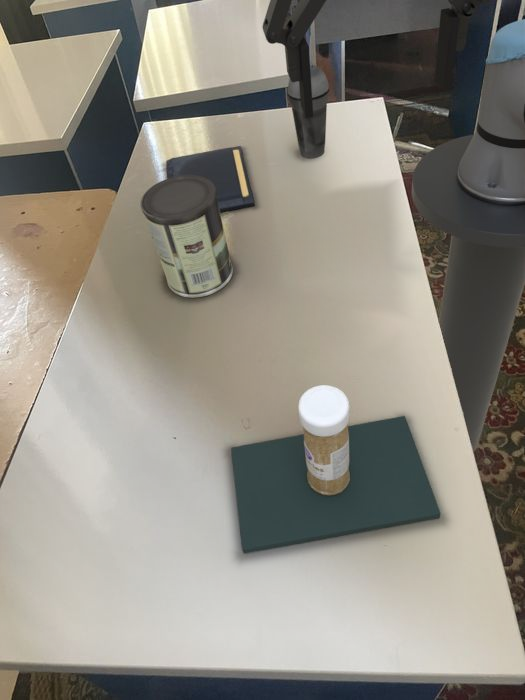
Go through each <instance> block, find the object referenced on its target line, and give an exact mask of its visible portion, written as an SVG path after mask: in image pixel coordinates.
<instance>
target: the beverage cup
mask: <svg viewBox="0 0 525 700" xmlns="http://www.w3.org/2000/svg"><path fill="white" fill-rule="evenodd" d="M313 43H314V35H312V34H311V35H309V45H308V46H309V55H310V71H311V87H312V103H313V117H309V118H306V117H305V115H304V112H303V110H302V107H301V100H300V88H299V81H297V82H292V81H291V80H290V78H289V79H288V84H287V93H286V94H287V96H288V101H289V104H290V106H291V112H292V116H293V117H292V118H293V122H294V128H295V134H296V139H297V145H298V149H299V152H300V157H302V158H303V159H308V160H314V159H318V158H320V157H323V155H324V154H325V147H326V146H325V145H326V138H327V137H326V135H327V134H326V132H327V107H328V101H329V92H330V85H329V81H328V78H327V75H326V73H325V72H324V71H323V70H322V69H321V68H320V67H319V66H317V65H315V64H313V46H314V45H313Z"/></svg>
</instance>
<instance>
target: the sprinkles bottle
mask: <svg viewBox="0 0 525 700" xmlns="http://www.w3.org/2000/svg"><path fill="white" fill-rule="evenodd" d="M350 408H351V407H350V402H349V399H348V397H347V395H346V394H345V393H344V392H343V390H341V389H340V388H337V387H336V386H332V385H329V384H328V385H327V384H321V385H316V386H313V387H310V388H309V389H307V390H305V391H304V393H303V394H302V395H301V396H300V398H299V401H298V406H297V409H298V410H297V411H298V417H299V418H298V419H299V422H300V424H301V426H302V433H303V434H304V446H305V455H306V464H307V468H308V472H307V478H308V482H309V484H310V486H311V488H313V489H314V491H316V492H318V493H320V494H322V495H335V494H338V493H341V492H342V491H343V490H344V489H345V488H346V487H347V485H348V483H349V481H350V472H349V432H348V426H349V421H350V417H351V411H350V410H351V409H350Z"/></svg>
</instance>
